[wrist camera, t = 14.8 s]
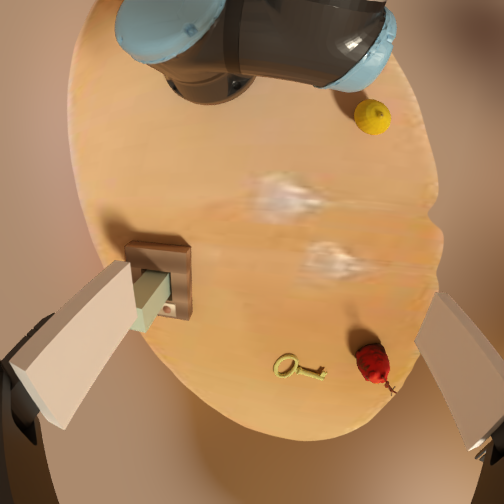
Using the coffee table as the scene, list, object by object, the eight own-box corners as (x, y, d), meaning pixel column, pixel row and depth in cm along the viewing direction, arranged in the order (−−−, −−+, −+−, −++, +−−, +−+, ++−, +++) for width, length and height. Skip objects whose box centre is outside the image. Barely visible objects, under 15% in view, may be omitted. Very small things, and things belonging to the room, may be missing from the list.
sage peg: (150, 265, 50) (116, 303, 37) (172, 268, 50) (141, 309, 37) (152, 286, 52) (121, 327, 39) (173, 289, 51) (146, 332, 38)
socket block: (132, 240, 48) (123, 247, 45) (191, 246, 48) (185, 253, 45) (139, 303, 53) (132, 311, 50) (192, 312, 53) (188, 321, 50)
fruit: (382, 110, 36) (403, 105, 29) (375, 140, 38) (395, 140, 31) (352, 98, 36) (368, 89, 29) (344, 128, 38) (359, 125, 31)
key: (324, 375, 58) (325, 381, 56) (272, 373, 59) (272, 380, 57) (330, 353, 55) (332, 360, 53) (275, 351, 56) (275, 358, 54)
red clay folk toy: (347, 357, 55) (361, 408, 41) (368, 335, 52) (388, 386, 38) (370, 366, 56) (386, 414, 42) (390, 346, 53) (411, 394, 39)
